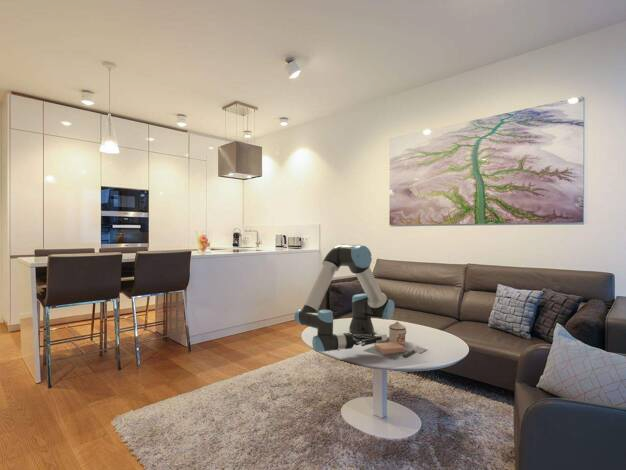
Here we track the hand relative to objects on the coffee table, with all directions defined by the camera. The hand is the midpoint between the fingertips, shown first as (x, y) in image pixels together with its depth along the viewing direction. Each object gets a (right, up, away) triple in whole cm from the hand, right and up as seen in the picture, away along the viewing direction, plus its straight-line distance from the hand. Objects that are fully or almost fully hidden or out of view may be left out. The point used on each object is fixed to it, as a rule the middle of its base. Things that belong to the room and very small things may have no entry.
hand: (386, 337), depth 178 cm
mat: (0, -8, 0) cm, 8 cm away
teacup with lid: (+11, -8, +17) cm, 21 cm away
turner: (+15, -8, 0) cm, 17 cm away
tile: (-4, -6, -1) cm, 7 cm away
